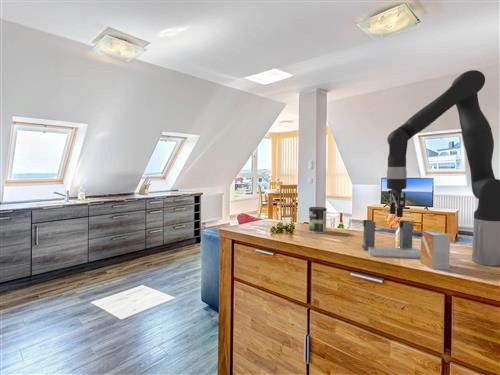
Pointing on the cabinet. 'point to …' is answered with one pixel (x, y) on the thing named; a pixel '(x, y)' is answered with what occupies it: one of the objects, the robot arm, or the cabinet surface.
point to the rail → (394, 252)
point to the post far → (368, 234)
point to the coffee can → (317, 219)
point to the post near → (406, 234)
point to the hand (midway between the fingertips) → (396, 215)
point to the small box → (435, 249)
